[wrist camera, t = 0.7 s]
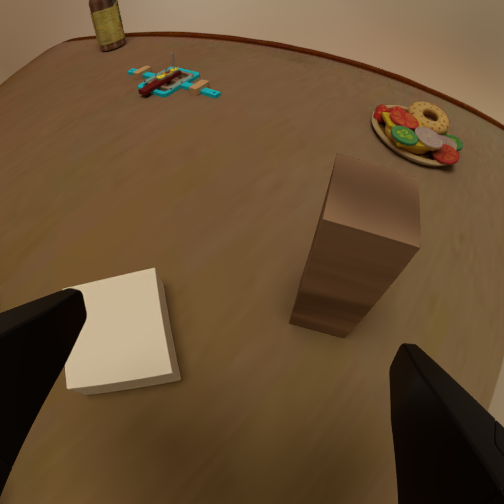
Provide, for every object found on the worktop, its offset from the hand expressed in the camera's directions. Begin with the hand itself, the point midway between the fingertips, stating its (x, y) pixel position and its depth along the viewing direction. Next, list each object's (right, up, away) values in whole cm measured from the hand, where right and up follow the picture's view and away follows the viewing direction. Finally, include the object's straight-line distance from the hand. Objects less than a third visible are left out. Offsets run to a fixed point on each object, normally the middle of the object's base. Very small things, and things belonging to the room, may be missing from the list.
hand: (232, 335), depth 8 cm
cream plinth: (-10, -5, +15) cm, 18 cm away
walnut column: (+6, -2, +17) cm, 18 cm away
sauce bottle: (-31, +48, +47) cm, 74 cm away
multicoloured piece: (-13, +28, +36) cm, 47 cm away
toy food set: (+23, +17, +30) cm, 41 cm away
